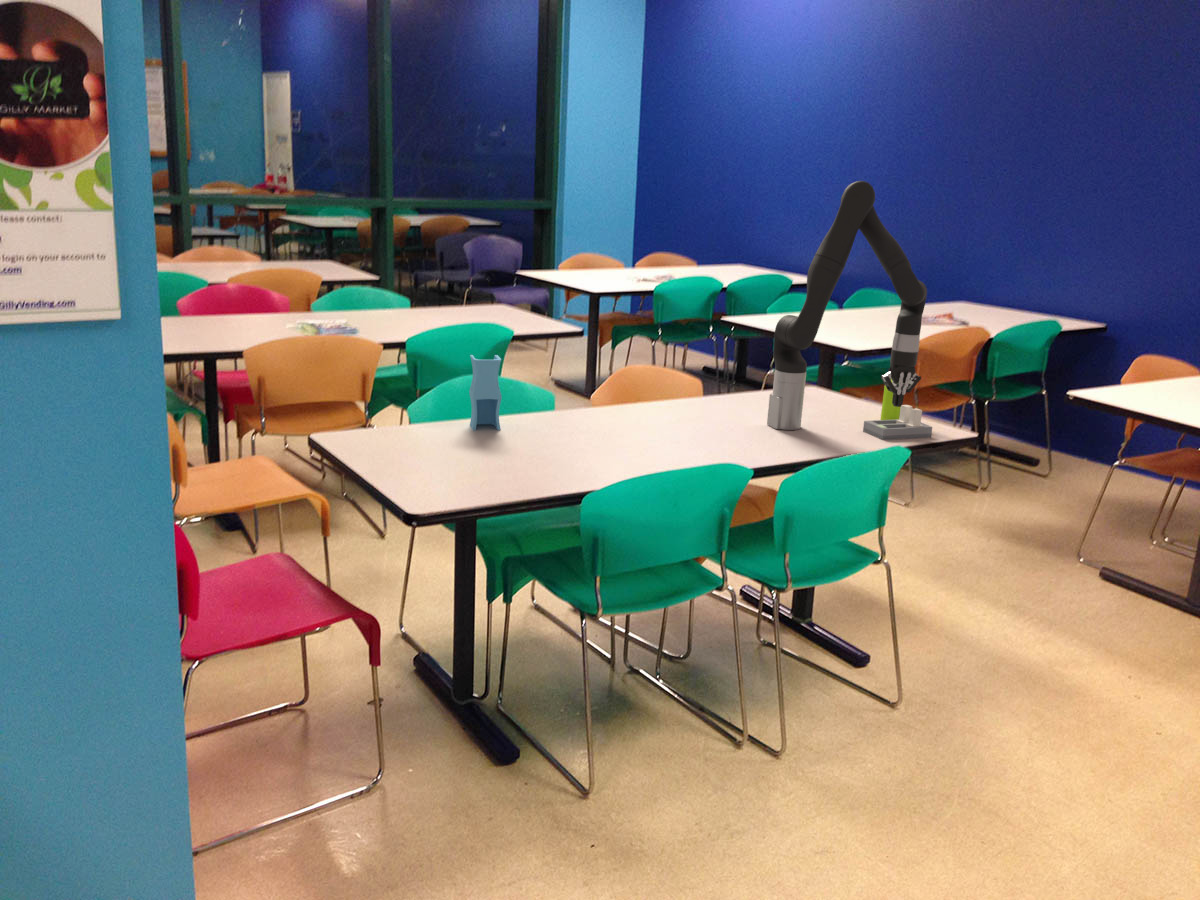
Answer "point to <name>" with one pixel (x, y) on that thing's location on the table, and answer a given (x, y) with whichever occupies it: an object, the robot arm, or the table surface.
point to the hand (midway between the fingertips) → (897, 406)
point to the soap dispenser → (889, 407)
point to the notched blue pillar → (485, 392)
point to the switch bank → (895, 430)
